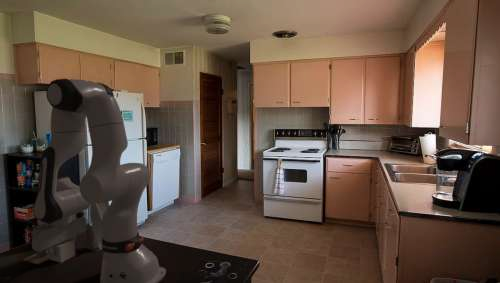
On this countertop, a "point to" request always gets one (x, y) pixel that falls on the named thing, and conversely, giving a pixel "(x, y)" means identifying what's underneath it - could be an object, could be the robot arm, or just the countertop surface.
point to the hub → (38, 257)
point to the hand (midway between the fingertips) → (62, 251)
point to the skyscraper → (96, 225)
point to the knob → (64, 251)
